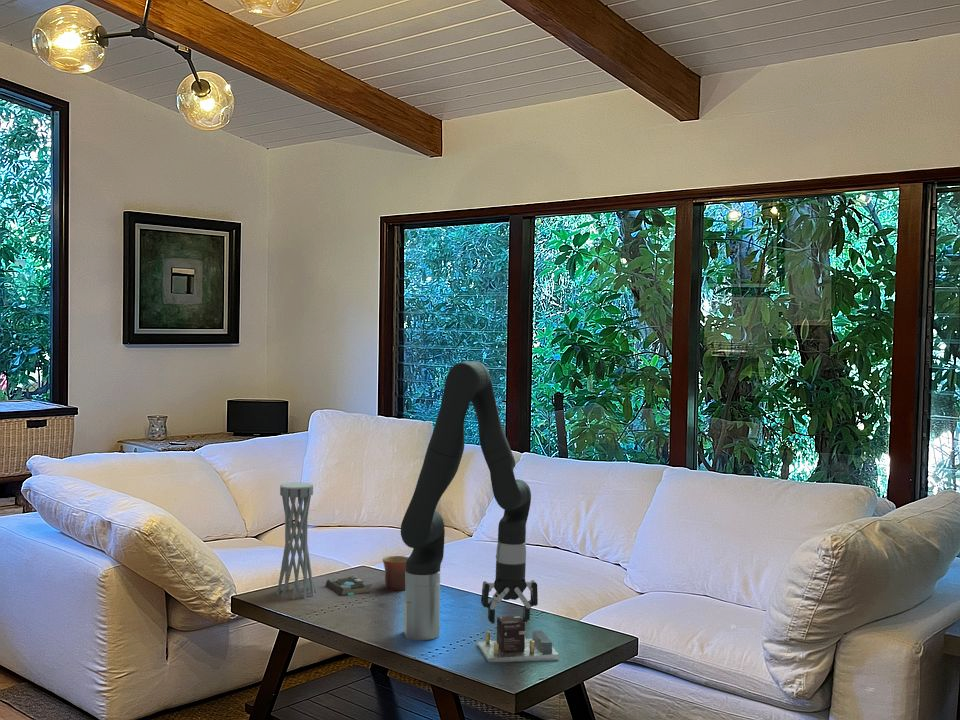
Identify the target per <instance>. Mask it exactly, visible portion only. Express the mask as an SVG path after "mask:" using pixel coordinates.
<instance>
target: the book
mask: <svg viewBox="0 0 960 720" xmlns="http://www.w3.org/2000/svg"><path fill="white" fill-rule="evenodd" d="M325 587H326V588H327V589H330V590H331V591H332V592H334V593H336V594H337V595H339V596H353V595H356V594H364V593H370V592H371V587H373V583H371V582H368V581H366V580H363V579H360V577H359V576H357V575H349V576H348V577H345V578H336V577H334V578H328V579H327V580H326V582H325Z"/></svg>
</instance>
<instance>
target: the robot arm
mask: <svg viewBox="0 0 960 720" xmlns="http://www.w3.org/2000/svg"><path fill="white" fill-rule="evenodd" d="M441 397H442V398H441V403H440V407H439V411H438V414H437V418H436V421H435V423H434V427H433V431H432V434H431V436H430V440H429V443H428V445H427V448H426V452H425V455H424V459H423V463H422V466H421V469H420V473H419V476H418V479H417V481H416V484H415V489H414V490H413V494H412V498H411V500H410V501H409V504H408V506H407V508H406V511H405V513H404V516H403V519H402V521H401V524H400V537H401V539H402V542H403V543H404V545H405V546H407V547H408V548H410V549H412V551H411V554H410V555H409V557H408V559H407V561H406V567H405V590H404V591H405V593H404V597H403V634H404V638H406V640H414V641H428V640H434V639H437V638H439V637H440V629H441V625H440V624H441V623H440V622H441V621H440V619H441V618H440V615H441V614H440V613H441V603H440V602H441V566H442V563H443V559H444V555H445V553H444V552H445V550H444V549H445V536H446V534H445V532H446V531H445V530H446V529H445V528H446V527H445V523H444V519H443V517H442V516H441V514H440V513H439V512H438V511H437V506H438V503H439V502H440V500H441V497H443V495H444V493H445V492H446V490H447V489H448V487H449V486H450V484H451V483H452V482H453V480H454V478H455V476H456V475H457V472H458V470H459V468H460V463H461V461H462V457H463V455H464V450H465V419H466V416H467V412H468V409H469V405H470V403H471V404H472V406H473V409H474V411H475V415H476V419H477V424H478V425H477V426H478V427H477V428H478V437H479V438H478V440H479V444H480V448H481V452H482V455H483V457H484V460H485V463H486V464H487V468H488V470H489V475H490V483H491V488H492V493H493V497H494V499H495V502H496V503H497V505H498V506H499V507H500V508H502V509H503V510H504V512H503V516H502V518H500V519H499V523H498V527H497V528H498V530H497V531H498V532H497V545H496V554H495V579H494V582H488V581H485V580H484V581H483V582H482V589H481V598H480V599H481V600H480V604H481V605H482V607H483V608H487V619H488V621H489V622H490V624H492V625H494V624H495V621H496V619H495V618H496V606H498V604H500V603H501V601H502V600H504V601H509V600H513V601H517V599H519V600H520V601H521V603H522V604H523V606H522V620H523V621H524V622H525V624H527V623H528V621H530V619H531V608H532V607H536V606H538V605H539V602H538V600H539V598H538V597H539V595H538V594H539V593H538V583H537V582H536V581H535V580H534V579H533V580H531V581H526V565H527V563H526V561H527V547H526V540H527V539H526V537H527V533H526V532H527V528H526V527H527V526H526V525H527V520H528V517H529V513H530V508H531V502H532V493H531V492H532V491H531V489H530V486H529V484H528V483H527V482H526V481H524V480H523V479H517V478H516V477H515V473H514V469H515V467H516V460H515V457H514V454H513V452H512V449H511V446H510V443H509V441H508V438H507V436H506V433H505V430H504V427H503V425H502V421H501V417H500V414H499V408H498V406H497V405H498V404H497V401H496V398H495V397H496V396H495V392H494V387H493V382H492V378H491V375H490V371H489V369H488V368H487V367H486V365H485V364H483V363H482V362H479V361H476V360H475V361H473V360H470V361H460V362H458V363H455V364H454V365H453V366H451V367H450V369H449V370H448V371H447V374H446V378H445V383H444V387H443V391H442V396H441ZM527 588H528V590H529V591H530V599H529V600H528V598H527V597H526V596H525V595H524V594H523V593H524V591H525V590H526V589H527ZM493 589H494V590H495V592H494V594H493V595H492V597H491V599H490V600H489V596H490V592H492V590H493Z"/></svg>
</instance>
